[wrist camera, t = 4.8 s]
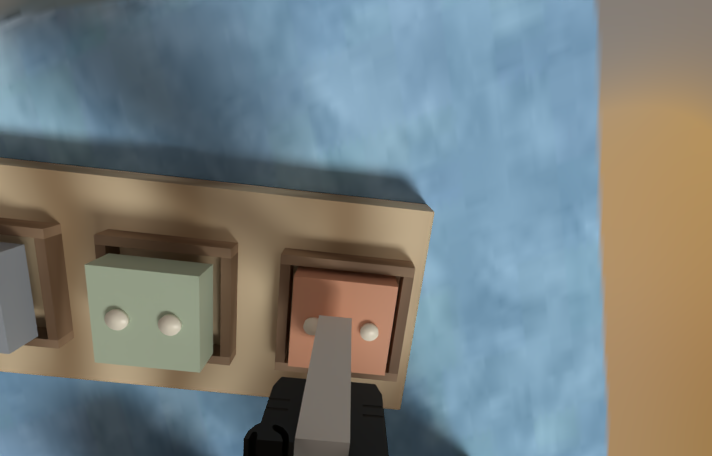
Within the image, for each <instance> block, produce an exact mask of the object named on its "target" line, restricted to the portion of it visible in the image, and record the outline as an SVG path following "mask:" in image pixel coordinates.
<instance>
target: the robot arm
mask: <svg viewBox="0 0 712 456" xmlns="http://www.w3.org/2000/svg"><path fill="white" fill-rule="evenodd" d="M351 331H352V318H344V317H333V316H323V315H319V318H318V323H317V328H316V333H315V338H314V343H313V348H312V353H311V359H310V364H309V369H308V374H307V379H302V378H291V377H281V378H280V379H279V380H278V381H277V382H276V383H275V384H274V385H273V387H272V390H271V393H270V396H269V400H268V403H267V406H266V409H265V412H264V415H263V418H262V421H261V423H259V424H257V425H255V426H254V427H253V428H251V429H250V430H249V431H248V433H247V434H246V436H245V438H244V453H243V456H389V455H388V445H387V436H386V427H385V418H384V409H383V399H382V394H381V392H380V391H379V389H378V387H377V386H376V384H368V383H357V382H351Z"/></svg>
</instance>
